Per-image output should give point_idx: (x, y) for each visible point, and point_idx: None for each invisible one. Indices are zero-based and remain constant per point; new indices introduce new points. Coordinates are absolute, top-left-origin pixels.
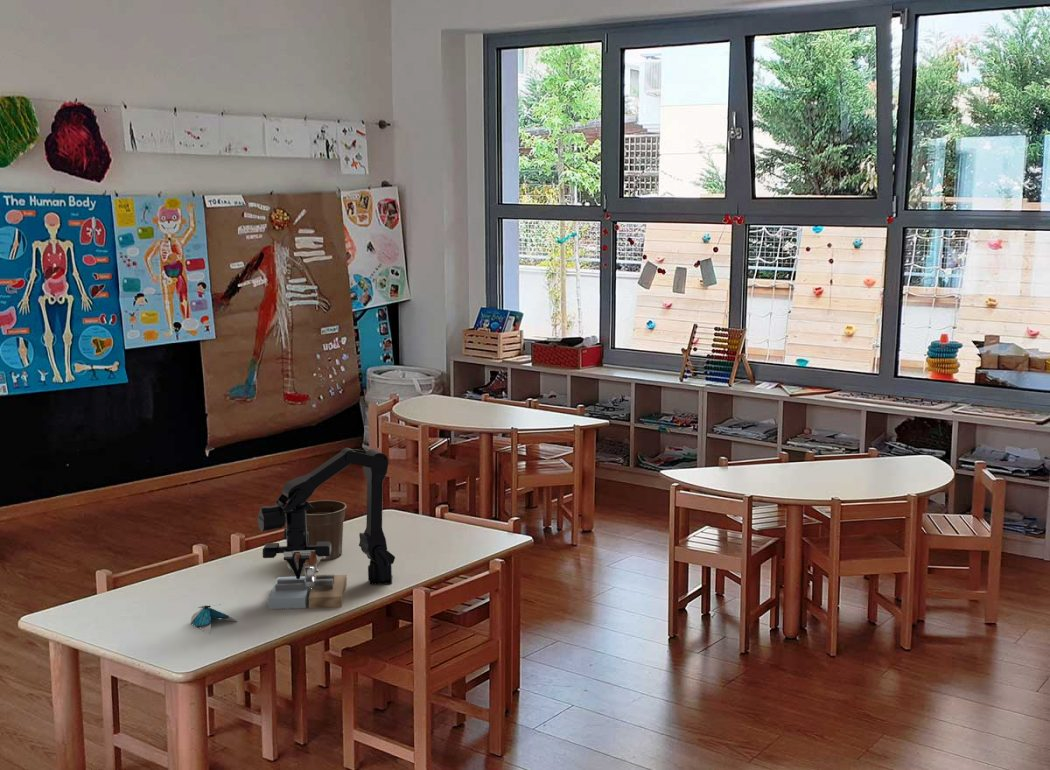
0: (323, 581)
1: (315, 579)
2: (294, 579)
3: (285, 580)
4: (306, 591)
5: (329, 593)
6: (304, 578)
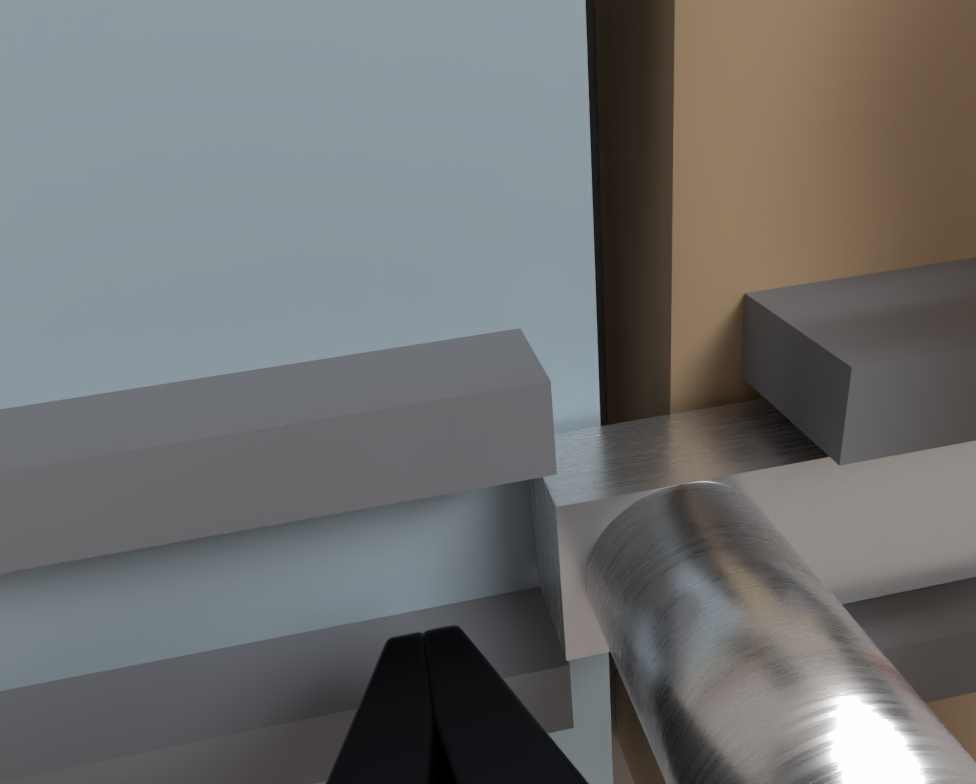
0: (973, 683)
1: (798, 502)
2: (272, 502)
3: (45, 562)
4: (601, 697)
5: (944, 706)
6: (516, 412)
